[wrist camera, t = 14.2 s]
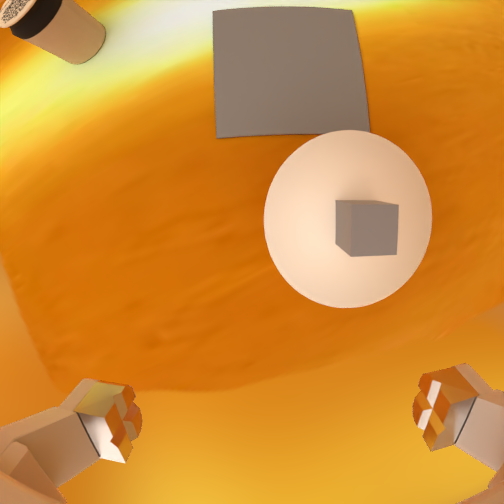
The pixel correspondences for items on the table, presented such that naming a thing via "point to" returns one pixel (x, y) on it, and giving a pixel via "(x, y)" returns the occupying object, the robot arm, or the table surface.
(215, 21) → the mat
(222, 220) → the table surface
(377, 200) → the lid
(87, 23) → the travel mug
